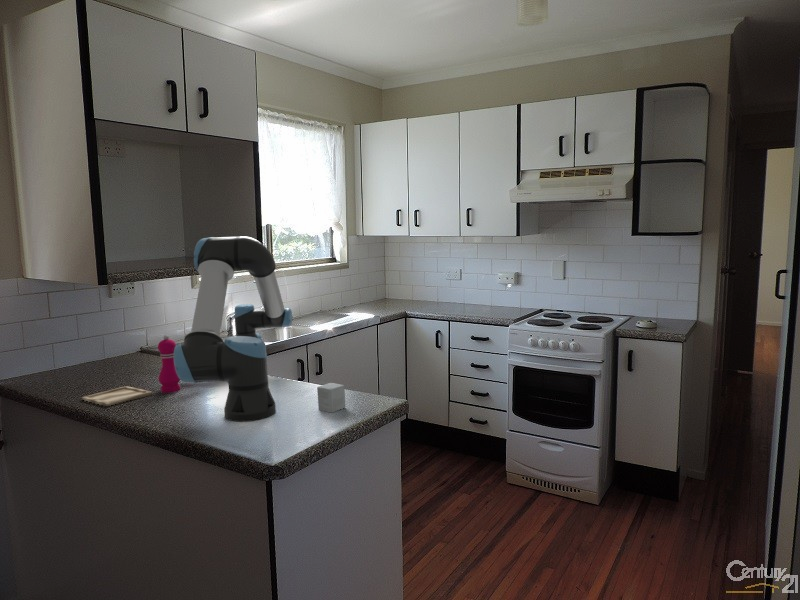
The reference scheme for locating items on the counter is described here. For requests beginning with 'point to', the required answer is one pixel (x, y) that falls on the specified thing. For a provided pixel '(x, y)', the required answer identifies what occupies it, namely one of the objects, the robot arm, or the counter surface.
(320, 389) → the product box
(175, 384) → the pepper mill
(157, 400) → the counter surface
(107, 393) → the oak tray
